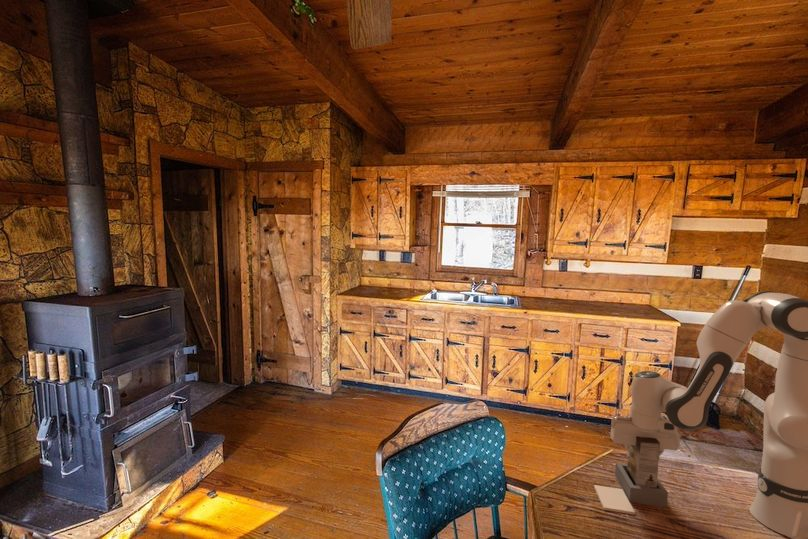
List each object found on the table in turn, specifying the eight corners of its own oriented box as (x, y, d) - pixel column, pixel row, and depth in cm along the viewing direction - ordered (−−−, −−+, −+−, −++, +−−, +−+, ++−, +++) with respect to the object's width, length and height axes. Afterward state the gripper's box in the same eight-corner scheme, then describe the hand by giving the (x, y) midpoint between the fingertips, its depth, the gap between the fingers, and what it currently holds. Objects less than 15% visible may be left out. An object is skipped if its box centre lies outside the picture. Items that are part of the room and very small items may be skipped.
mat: (622, 491, 127) (622, 489, 127) (634, 514, 117) (634, 512, 117) (593, 487, 129) (594, 484, 129) (603, 509, 119) (603, 507, 119)
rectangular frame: (648, 479, 134) (649, 466, 133) (666, 507, 120) (667, 492, 120) (615, 475, 136) (615, 462, 136) (629, 501, 122) (630, 487, 122)
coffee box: (626, 469, 133) (628, 426, 131) (646, 471, 131) (648, 428, 130) (636, 486, 124) (639, 440, 122) (658, 488, 122) (661, 442, 121)
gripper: (614, 419, 125) (612, 458, 126) (683, 426, 120) (680, 467, 122) (608, 411, 131) (606, 448, 132) (674, 417, 127) (671, 456, 128)
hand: (642, 457), depth 127 cm, fingers closed on coffee box, 6 cm apart
